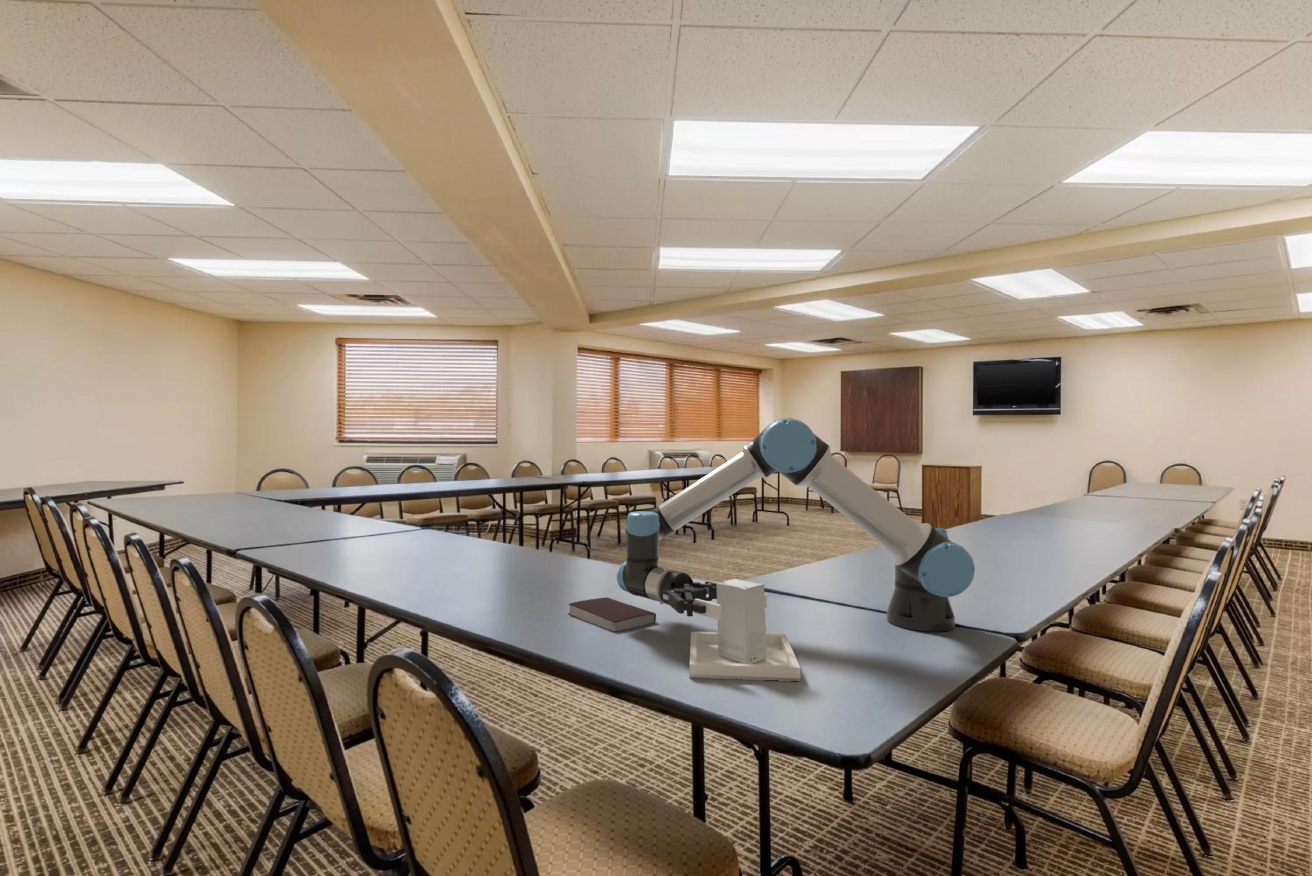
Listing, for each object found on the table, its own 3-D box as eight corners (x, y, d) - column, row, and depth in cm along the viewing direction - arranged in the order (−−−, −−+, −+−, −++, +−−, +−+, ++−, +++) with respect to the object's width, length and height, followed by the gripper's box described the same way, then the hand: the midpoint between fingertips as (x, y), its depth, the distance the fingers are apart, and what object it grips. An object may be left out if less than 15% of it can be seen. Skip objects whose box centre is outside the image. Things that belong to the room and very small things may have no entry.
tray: (785, 646, 134) (785, 634, 134) (800, 681, 115) (800, 668, 115) (690, 643, 136) (691, 631, 136) (689, 677, 116) (689, 664, 116)
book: (608, 607, 166) (608, 595, 166) (656, 624, 151) (656, 610, 151) (567, 616, 158) (567, 603, 158) (614, 634, 143) (614, 620, 143)
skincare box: (767, 660, 124) (768, 584, 124) (745, 667, 120) (746, 588, 120) (736, 649, 130) (736, 576, 130) (715, 655, 127) (715, 580, 127)
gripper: (709, 595, 149) (782, 614, 133) (626, 613, 132) (698, 638, 116) (709, 563, 149) (783, 579, 133) (626, 577, 132) (699, 597, 116)
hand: (743, 606), depth 124 cm, fingers open, 13 cm apart
